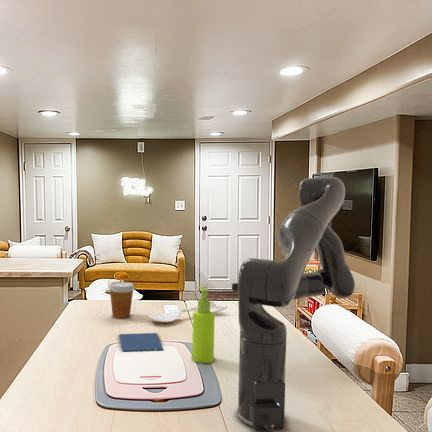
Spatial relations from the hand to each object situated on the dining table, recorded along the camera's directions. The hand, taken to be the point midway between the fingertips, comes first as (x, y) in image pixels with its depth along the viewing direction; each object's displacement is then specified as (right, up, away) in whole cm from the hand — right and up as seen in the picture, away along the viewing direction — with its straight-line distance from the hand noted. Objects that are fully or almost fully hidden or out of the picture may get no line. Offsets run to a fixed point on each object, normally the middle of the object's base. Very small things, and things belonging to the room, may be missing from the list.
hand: (239, 291), depth 123 cm
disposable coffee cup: (-36, -16, +38) cm, 54 cm away
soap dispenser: (-11, -19, -2) cm, 22 cm away
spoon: (-11, -16, +36) cm, 42 cm away
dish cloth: (-28, -18, +10) cm, 35 cm away
